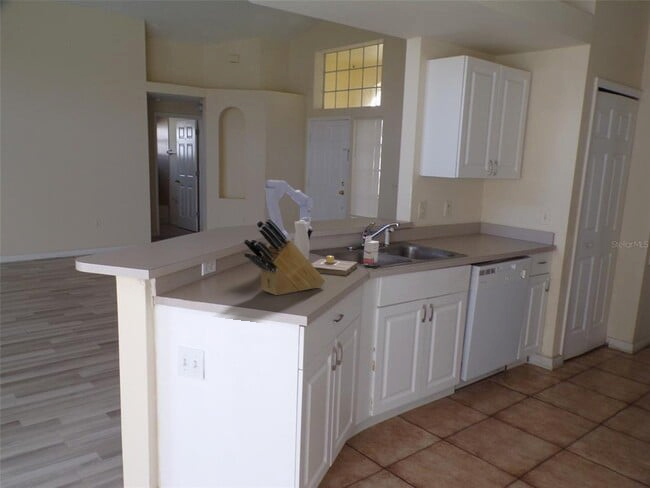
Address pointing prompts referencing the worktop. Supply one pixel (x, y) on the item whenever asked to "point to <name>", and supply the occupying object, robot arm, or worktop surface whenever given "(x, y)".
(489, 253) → the worktop surface
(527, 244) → the worktop surface
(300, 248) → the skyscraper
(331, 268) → the plate
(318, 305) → the worktop surface
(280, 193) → the robot arm
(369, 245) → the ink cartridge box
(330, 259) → the brass peg
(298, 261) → the knife block
